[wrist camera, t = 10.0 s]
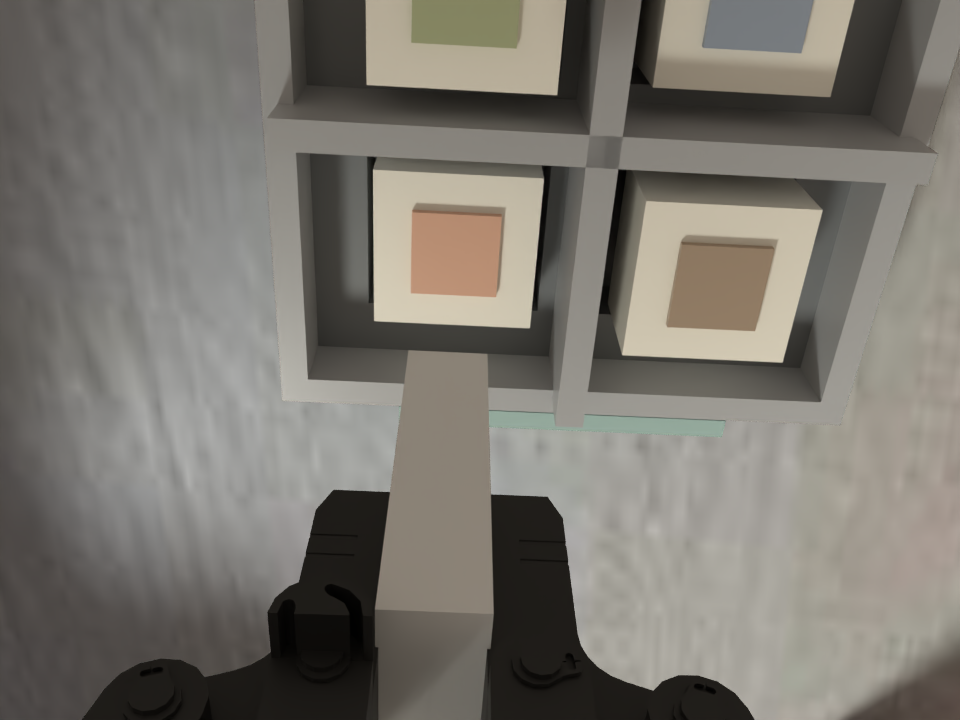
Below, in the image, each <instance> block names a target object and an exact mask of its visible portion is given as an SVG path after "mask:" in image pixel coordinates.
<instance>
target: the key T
mask: <svg viewBox="0 0 960 720" xmlns="http://www.w3.org/2000/svg"><path fill="white" fill-rule="evenodd" d="M854 1H855V0H642V1H641V8H640V15H639V23H638V30H637V37H636V45H635V52H634V59H633V60H634V61H635V63H636V64H637V65H638V67H639V68H640V70H641V71H642V73H643V74H644V76H645V77H646V79H647V80H648V81H649V83H650V84H651V86H652V87H653V88H671V89H689V90H707V91H725V92H744V93H762V94H780V95H799V96H817V97H830V96H831V92H832V88H833V84H834V80H835V76H836V72H837V68H838V65H839V61H840V57H841V53H842V49H843V45H844V41H845V37H846V33H847V29H848V25H849V21H850V17H851V13H852V9H853V5H854Z"/></svg>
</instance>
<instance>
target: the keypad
mask: <svg viewBox="0 0 960 720" xmlns="http://www.w3.org/2000/svg"><path fill="white" fill-rule="evenodd" d="M641 1H642V0H566V9H565V20H564V30H563V40H562V50H561V61H560V71H559V81H558V92H557V95H542V94H523V93H505V92H486V91H468V90H450V89H431V88H413V87H394V86H376V85H367V80H366V0H254V6H255V21H256V35H257V49H258V63H259V77H260V92H261V106H262V120H263V134H264V148H265V162H266V177H267V191H268V205H269V219H270V233H271V247H272V262H273V276H274V290H275V304H276V318H277V333H278V347H279V361H280V375H281V389H282V401H296V402H319V403H342V404H365V405H388V406H399V420H400V412H401V404H402V396H403V389H404V381H405V373H406V366H407V358H408V350H416V351H437V352H458V353H479V354H487V359H488V400H489V427H498V428H521V429H544V430H567V431H591V432H614V433H637V434H660V435H683V436H706V437H722V435H723V431H724V426H725V422H726V421H725V420H730V421H753V422H775V423H798V424H821V425H841V422H842V419H843V415H844V412H845V409H846V406H847V403H848V400H849V396H850V393H851V390H852V387H853V384H854V381H855V377H856V374H857V371H858V368H859V365H860V362H861V358H862V355H863V352H864V349H865V346H866V343H867V339H868V336H869V333H870V330H871V327H872V324H873V320H874V317H875V314H876V311H877V308H878V305H879V301H880V298H881V295H882V292H883V289H884V286H885V282H886V279H887V276H888V273H889V270H890V267H891V263H892V260H893V257H894V254H895V251H896V248H897V244H898V241H899V238H900V235H901V232H902V229H903V225H904V222H905V219H906V216H907V213H908V210H909V206H910V203H911V200H912V197H913V194H914V191H915V187H916V185H928V184H929V181H930V177H931V174H932V171H933V168H934V165H935V162H936V159H937V156H938V153H936V152H935V151H934V150H932V149H931V148H929V147H928V146H929V143H930V140H931V137H932V134H933V131H934V127H935V124H936V121H937V118H938V115H939V112H940V108H941V105H942V102H943V99H944V96H945V93H946V89H947V86H948V83H949V80H950V77H951V74H952V70H953V67H954V64H955V61H956V58H957V55H958V51H959V48H960V0H855V1H854V5H853V9H852V13H851V17H850V21H849V25H848V29H847V33H846V37H845V41H844V45H843V49H842V53H841V57H840V61H839V65H838V68H837V72H836V76H835V80H834V84H833V88H832V92H831V96H830V97H817V96H799V95H780V94H762V93H744V92H725V91H707V90H689V89H671V88H653V87H652V86H651V84H650V83H649V81H648V80H647V79H646V77H645V76H644V74H643V73H642V71H641V70H640V68H639V67H638V65H637V64H636V63H635V61H634V60H633V59H634V52H635V45H636V37H637V30H638V23H639V15H640V8H641ZM377 157H393V158H412V159H431V160H450V161H470V162H489V163H508V164H527V165H542V171H543V176H544V184H543V195H542V206H541V216H540V227H539V237H538V248H537V259H536V269H535V280H534V291H533V301H532V312H531V323H530V328H510V327H489V326H467V325H446V324H425V323H403V322H382V321H374V240H373V168H374V165H375V162H376V159H377ZM627 170H643V171H662V172H681V173H701V174H720V175H739V176H758V177H778V178H794V179H795V180H796V181H797V182H798V184H799V185H800V186H801V187H802V188H803V189H804V190H805V191H806V192H807V193H808V194H809V196H810V197H811V198H812V199H813V200H814V201H815V202H816V203H817V204H818V205H819V206H820V208H821V209H822V210H823V211H822V215H821V219H820V223H819V226H818V230H817V234H816V238H815V242H814V245H813V249H812V253H811V257H810V260H809V264H808V268H807V272H806V276H805V279H804V283H803V287H802V291H801V295H800V298H799V302H798V306H797V310H796V313H795V317H794V321H793V325H792V329H791V332H790V336H789V340H788V344H787V347H786V351H785V355H784V359H783V363H781V362H759V361H737V360H715V359H693V358H672V357H650V356H628V355H622V353H621V349H620V346H619V342H618V338H617V335H616V331H615V328H614V324H613V320H612V317H611V313H610V309H609V306H608V297H609V290H610V283H611V276H612V269H613V262H614V255H615V248H616V241H617V234H618V227H619V220H620V213H621V206H622V199H623V192H624V185H625V178H626V171H627Z"/></svg>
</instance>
